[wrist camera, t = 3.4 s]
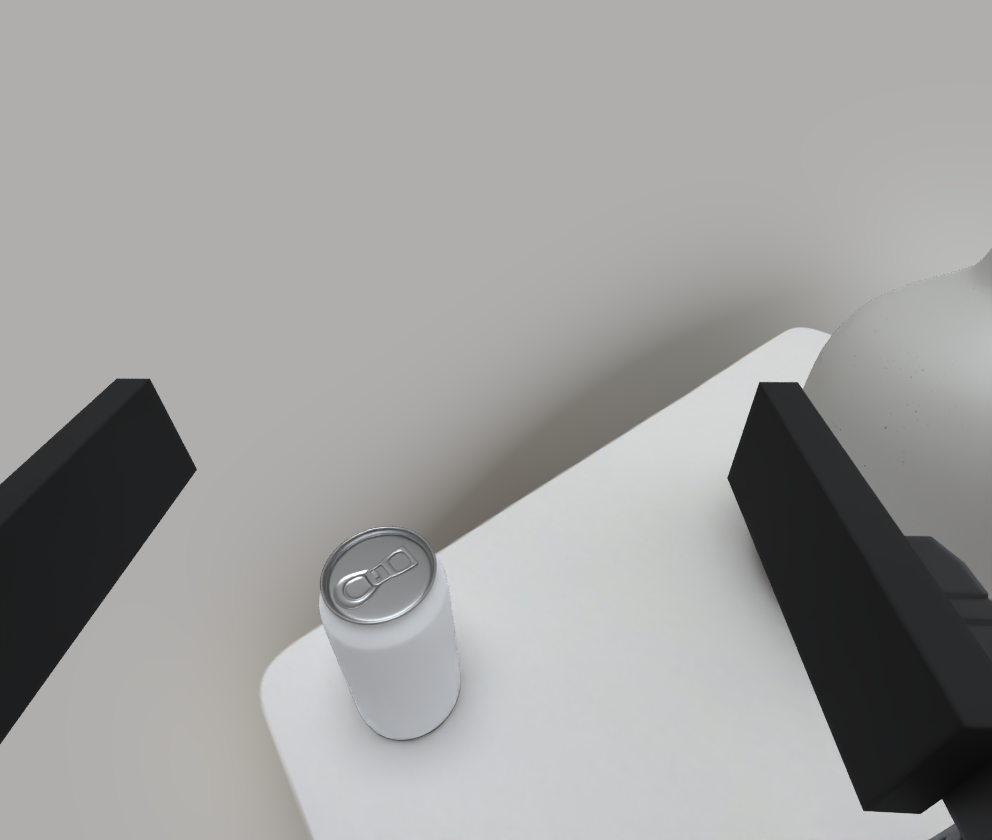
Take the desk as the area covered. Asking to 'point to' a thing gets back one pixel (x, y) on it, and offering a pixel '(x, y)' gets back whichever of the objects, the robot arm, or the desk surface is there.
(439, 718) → the can
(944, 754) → the robot arm
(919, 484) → the vase
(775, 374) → the desk surface
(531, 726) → the desk surface
